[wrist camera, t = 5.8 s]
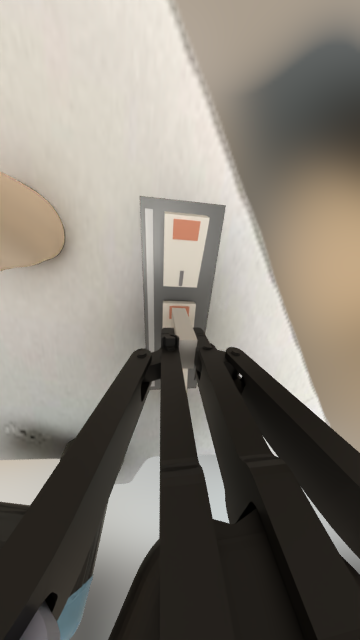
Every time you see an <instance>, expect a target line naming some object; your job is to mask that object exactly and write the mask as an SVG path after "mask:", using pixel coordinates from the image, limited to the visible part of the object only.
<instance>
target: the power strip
mask: <svg viewBox="0 0 360 640" xmlns="http://www.w3.org/2000/svg"><path fill="white" fill-rule="evenodd" d="M225 207H226V205H217V204H208V203H199V202H190V201H181V200H172V199H163V198H154V197H145V196H140V215H141V240H142V265H143V290H144V315H145V340H146V349H148V350H149V351H151V352H155V351H157V350H159V349H160V348H161V330H162V326H163V301H191V302H195V304H196V309H195V320H194V327H199V328H201V329H202V330H203V331H204V334H205V330H206V324H207V318H208V311H209V305H210V299H211V293H212V287H213V281H214V274H215V268H216V262H217V256H218V250H219V244H220V237H221V231H222V225H223V219H224V213H225ZM165 211H167V212H177V213H186V214H196V215H206V216H208V217H209V218H210V219H209V225H208V230H207V236H206V241H205V246H204V252H203V257H202V262H201V268H200V273H199V278H198V284H197V288H195V287H171V286H163V271H164V217H165ZM195 368H196V367H195V364H194V368H190V369H188V378H187V388H196V385H197V379H195V380H194V375H195ZM156 389H161V379H158V380H155V381H152V384H151V387H150V390H156Z"/></svg>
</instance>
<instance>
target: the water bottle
mask: <svg viewBox="0 0 360 640" xmlns="http://www.w3.org/2000/svg"><path fill="white" fill-rule="evenodd" d="M64 240H65V235H64V229H63V225H62V222H61V220H60V218H59V216H58V214H57V213H56V211H55V210H54V208H53V207H52V206H51V205H50V204H49V202H48V201H47V200H45V199H44V198H43V197H42V196H41V195H40V194H38V193H37V192H35V191H34V190H32V189H31V188H29V187H27V186H26V185H24V184H22V183H21V182H19V181H17V180H15V179H13V178H12V177H10V176H8V175H6V174H4V173H2V172H0V271H2V270H6V269H10V268H17V267H27V266H33V265H36V264H39V263H41V262H43V261H45V260H49V259H52V258H54V257H55V256H57V255H58V254H59V253H60V252H61V250H62V248H63V245H64Z"/></svg>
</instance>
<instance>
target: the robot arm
mask: <svg viewBox="0 0 360 640" xmlns="http://www.w3.org/2000/svg"><path fill="white" fill-rule="evenodd" d="M194 364H195V367H196V368H195V375H194V380H195V379H197V383H198V387H199V391H200V394H201V398H202V402H203V406H204V410H205V414H206V418H207V422H208V425H209V429H210V433H211V437H212V441H213V445H214V449H215V453H216V456H217V460H218V464H219V468H220V472H221V476H222V480H223V483H224V488H225V501H226V508H227V514H228V518H229V523H230V524H229V523H225V522H222V521H218V520H214V519H212V514H211V508H210V503H209V497H208V492H207V487H206V482H205V477H204V473H203V470H202V467H201V466H200V464H199V461H198V457H197V451H196V445H195V439H194V434H193V428H192V422H191V416H190V410H189V404H188V399H187V393H186V387H185V381H184V375H183V369H190V368H194ZM239 373H240V374H241V375H242V378H241V377H240V376H239ZM158 379H161V403H160V538H159V540H158V541H157V542H156V543H155V544H154V546H153V547H152V548H151V549H150V551H149V552H148V554H147V555H146V557H145V558H144V560H143V562H142V564H141V566H140V568H139V569H138V572H137V574H136V576H135V578H134V580H133V583H132V585H131V587H130V590H129V592H128V595H127V597H126V599H125V601H124V604H123V606H122V609H121V611H120V613H119V616H118V618H117V620H116V623H115V625H114V627H113V630H112V632H111V634H110V637H109V639H108V640H360V574H358V572H357V571H356V570H355V569H354V568H353V567H352V566H351V565H350V564H349V563H348V562H347V561H346V560H345V559H344V558H343V557H342V556H341V555H340V554H339V552H338V551H337V549H336V547H335V545H334V544H333V542H332V540H331V539H330V537H329V535H328V534H327V532H326V530H325V528H324V527H323V525H322V523H321V521H320V520H319V518H318V516H317V514H316V513H315V511H314V509H313V508H312V506H311V504H310V502H309V501H308V499H307V497H306V495H305V494H304V492H305V493H306V494H307V496H308V497H309V498H310V500H311V501H312V502H313V504H314V505H315V506H316V508H317V509H318V510H319V512H320V513H321V514H322V515H323V517H324V518H325V519H326V521H327V522H328V523H329V524H330V526H331V527H332V528H333V529H334V530H335V532H336V533H337V534H338V535H339V536H340V537H341V539H342V540H343V541H344V542H345V543H346V544H347V545H348V547H349V548H351V550H352V551H353V552H354V553H355V554H356V555H357V556H358V557H359V559H360V453H359V452H358V451H357V450H356V449H354V448H353V447H352V446H351V445H350V444H348V442H347V441H345V440H344V439H343V438H342V437H341V436H339V435H338V434H337V433H336V432H335V431H334V430H333V429H332V428H330V427H329V426H328V425H327V424H326V423H325V422H324V421H322V420H321V419H320V418H319V417H318V416H317V415H315V414H314V413H313V412H312V411H311V410H310V409H309V408H307V407H306V406H305V405H304V404H303V403H302V402H300V401H299V400H298V399H297V398H296V397H295V396H294V395H292V394H291V393H290V392H289V391H288V390H287V389H286V388H284V387H283V386H282V385H281V384H280V383H279V382H277V381H276V380H275V379H274V378H273V377H272V376H271V375H269V374H268V373H267V372H266V371H265V370H264V369H263V368H261V367H260V366H259V365H258V364H257V363H256V362H254V361H253V360H252V359H251V358H250V357H249V356H248V355H246V354H245V353H244V352H243V351H242V350H240V349H238V348H234V347H230V348H227V350H226V352H224V351H220V350H217V349H216V347H215V346H214V345H212V344H210V343H209V341H208V339H207V337H206V335H205V334H204V331H203V330H202V329H201V328H199V327H192V324H191V322H190V319H189V317H188V314H187V311H186V309H185V308H172V319H171V328H163V329H162V330H161V348H160V349H159V350H157V351H155V352H151V351H149V350H148V349H138V350H136V351H134V352H133V353H132V355H131V356H130V358H129V359H128V361H127V362H126V364H125V365H124V367H123V368H122V370H121V371H120V373H119V374H118V376H117V377H116V379H115V380H114V382H113V383H112V385H111V386H110V388H109V389H108V391H107V392H106V394H105V395H104V397H103V398H102V400H101V401H100V403H99V404H98V406H97V407H96V408H95V410H94V411H93V413H92V414H91V416H90V417H89V419H88V420H87V422H86V423H85V425H84V426H83V428H82V429H81V431H80V432H79V434H78V435H77V437H76V438H75V439H74V440H72V441H70V442H69V443H68V444H67V445H66V447H65V449H64V452H63V454H62V456H61V459H60V462H59V464H58V465H57V467H56V468H55V470H54V471H53V473H52V474H51V476H50V477H49V479H48V480H47V482H46V483H45V485H44V486H43V488H42V489H41V491H40V492H39V494H38V495H37V497H36V498H35V499H34V501H33V502H32V504H31V505H22V504H14V503H5V502H0V640H69V639H70V638H71V637H72V636H73V635H74V633H75V631H76V630H77V628H78V626H79V624H80V621H81V618H82V615H83V611H84V608H85V604H86V600H87V596H88V592H89V588H90V584H91V581H92V579H93V570H94V565H95V561H96V556H97V551H98V547H99V542H100V537H101V533H102V528H103V523H104V518H105V514H106V509H107V504H108V499H109V497H110V494H111V491H112V489H113V486H114V483H115V480H116V478H117V475H118V473H119V471H120V469H121V466H122V464H123V461H124V457H125V454H126V451H127V448H128V446H129V443H130V440H131V438H132V435H133V432H134V430H135V427H136V424H137V422H138V419H139V416H140V414H141V411H142V408H143V406H144V403H145V400H146V398H147V395H148V392H149V390H150V387H151V384H152V381H155V380H158ZM262 435H263V436H262ZM263 437H264V438H265V439H266V441H267V442H268V443H269V445H270V446H271V448H272V449H273V450H274V452H275V453H276V454H277V456H278V457H276V456H274V455H273V454H272V452H271V451H270V449H269V447H268V445H267V444H266V442H265V440H264V438H263ZM300 486H301V487H300ZM302 489H303V490H304V492H303V490H302Z"/></svg>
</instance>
